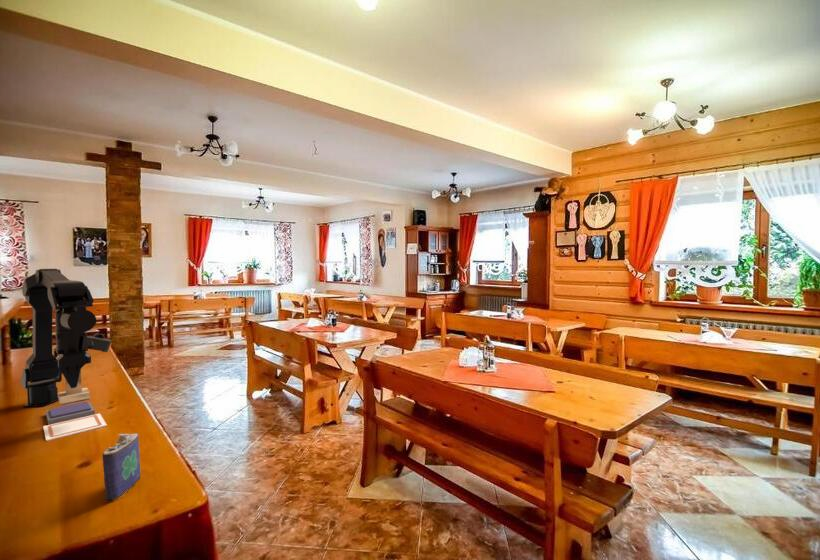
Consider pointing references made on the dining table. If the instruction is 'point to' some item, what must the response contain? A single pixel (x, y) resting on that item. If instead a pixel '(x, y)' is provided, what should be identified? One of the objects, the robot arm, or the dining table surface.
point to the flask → (121, 466)
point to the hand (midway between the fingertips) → (73, 386)
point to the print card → (73, 426)
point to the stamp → (73, 393)
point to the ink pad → (69, 412)
